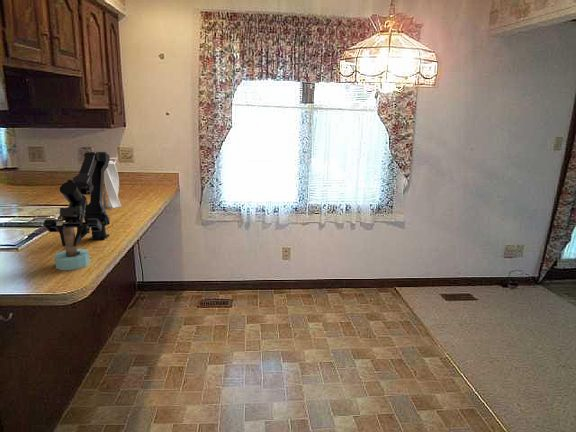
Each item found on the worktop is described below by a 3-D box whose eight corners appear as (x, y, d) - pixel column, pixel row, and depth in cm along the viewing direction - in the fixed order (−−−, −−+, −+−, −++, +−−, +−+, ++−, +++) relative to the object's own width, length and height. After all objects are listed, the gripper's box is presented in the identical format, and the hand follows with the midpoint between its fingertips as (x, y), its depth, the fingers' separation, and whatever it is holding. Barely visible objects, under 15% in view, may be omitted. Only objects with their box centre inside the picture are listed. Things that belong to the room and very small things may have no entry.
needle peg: (67, 260, 146) (62, 227, 142) (78, 259, 147) (73, 226, 144) (67, 264, 143) (62, 230, 139) (78, 262, 144) (74, 229, 141)
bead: (66, 258, 151) (65, 248, 149) (95, 258, 151) (93, 249, 150) (49, 269, 140) (48, 259, 139) (80, 270, 140) (79, 260, 139)
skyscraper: (115, 204, 230) (110, 156, 223) (124, 206, 227) (120, 158, 219) (102, 207, 223) (97, 158, 216) (112, 209, 219) (107, 159, 212)
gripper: (41, 197, 141) (31, 236, 134) (96, 197, 144) (89, 235, 136) (53, 213, 151) (45, 250, 143) (104, 212, 153) (98, 248, 146)
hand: (69, 245), depth 142 cm, fingers closed on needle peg, 4 cm apart
